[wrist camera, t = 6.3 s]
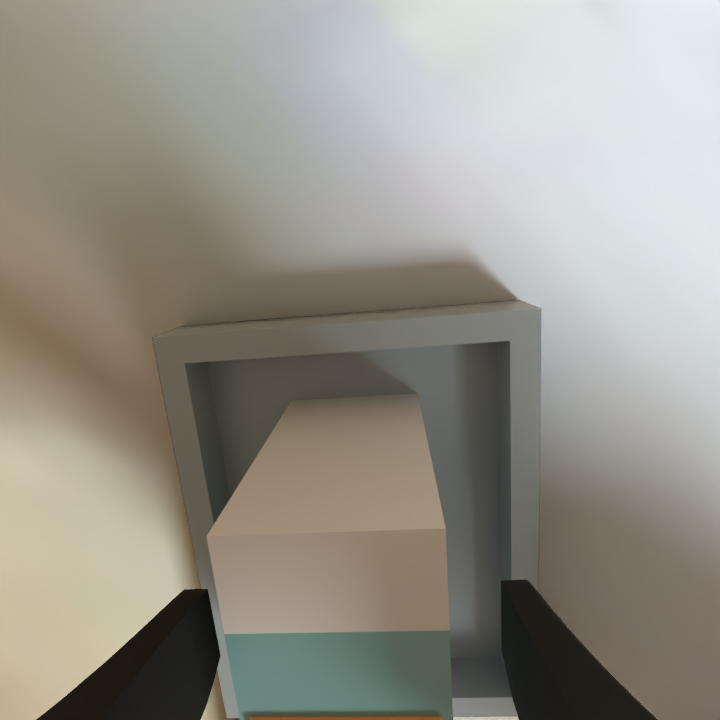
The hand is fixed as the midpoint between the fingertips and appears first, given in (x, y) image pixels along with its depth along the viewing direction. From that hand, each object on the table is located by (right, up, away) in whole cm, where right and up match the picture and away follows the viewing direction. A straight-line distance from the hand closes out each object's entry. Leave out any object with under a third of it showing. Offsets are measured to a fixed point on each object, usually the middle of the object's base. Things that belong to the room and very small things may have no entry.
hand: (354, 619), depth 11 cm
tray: (0, +1, +5) cm, 5 cm away
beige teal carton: (0, +1, +4) cm, 4 cm away
